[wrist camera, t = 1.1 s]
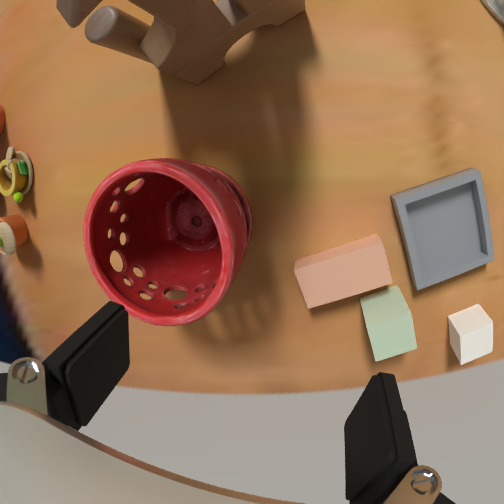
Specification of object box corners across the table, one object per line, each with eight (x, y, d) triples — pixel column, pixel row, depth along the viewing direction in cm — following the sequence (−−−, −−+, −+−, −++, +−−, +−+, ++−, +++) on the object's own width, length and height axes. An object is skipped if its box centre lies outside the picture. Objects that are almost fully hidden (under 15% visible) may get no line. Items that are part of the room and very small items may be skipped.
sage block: (397, 285, 32) (411, 312, 26) (404, 317, 33) (416, 348, 28) (359, 297, 33) (366, 327, 28) (368, 329, 34) (375, 361, 29)
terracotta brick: (376, 232, 31) (382, 241, 28) (386, 271, 32) (392, 282, 29) (295, 259, 33) (293, 270, 31) (308, 295, 35) (308, 308, 32)
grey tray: (471, 167, 26) (479, 170, 24) (486, 253, 29) (494, 259, 27) (390, 195, 29) (395, 199, 27) (412, 282, 31) (417, 290, 30)
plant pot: (288, 217, 32) (274, 261, 21) (204, 292, 37) (161, 354, 25) (198, 125, 30) (138, 122, 19) (126, 212, 35) (58, 245, 24)
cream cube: (478, 303, 31) (493, 322, 27) (478, 331, 32) (492, 351, 28) (447, 315, 32) (460, 336, 28) (449, 343, 33) (460, 365, 29)
